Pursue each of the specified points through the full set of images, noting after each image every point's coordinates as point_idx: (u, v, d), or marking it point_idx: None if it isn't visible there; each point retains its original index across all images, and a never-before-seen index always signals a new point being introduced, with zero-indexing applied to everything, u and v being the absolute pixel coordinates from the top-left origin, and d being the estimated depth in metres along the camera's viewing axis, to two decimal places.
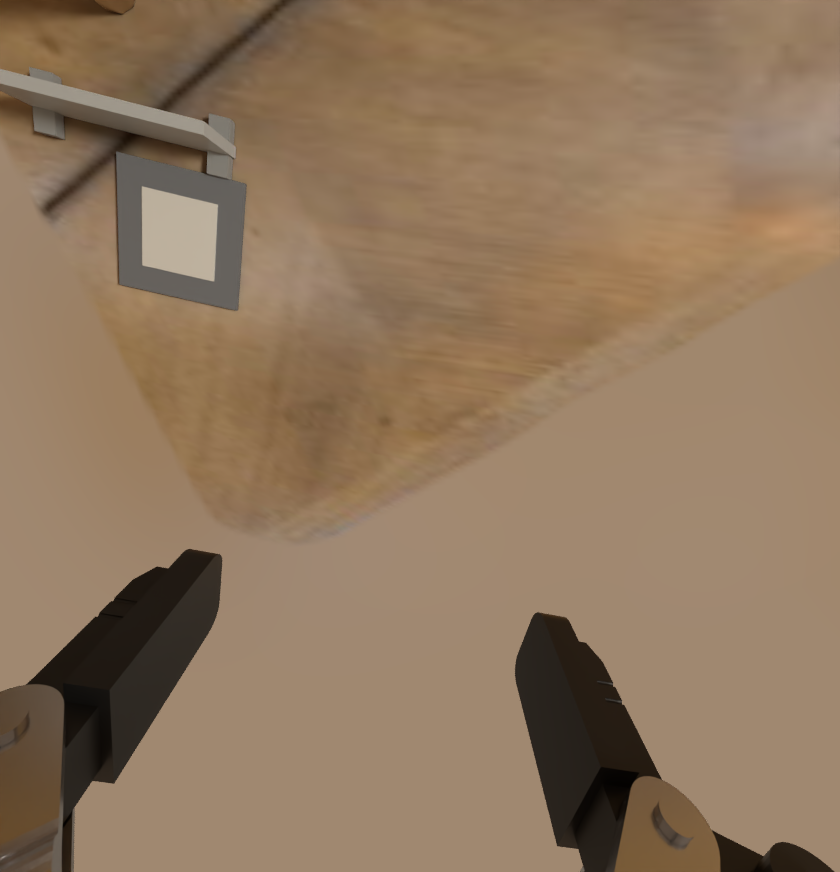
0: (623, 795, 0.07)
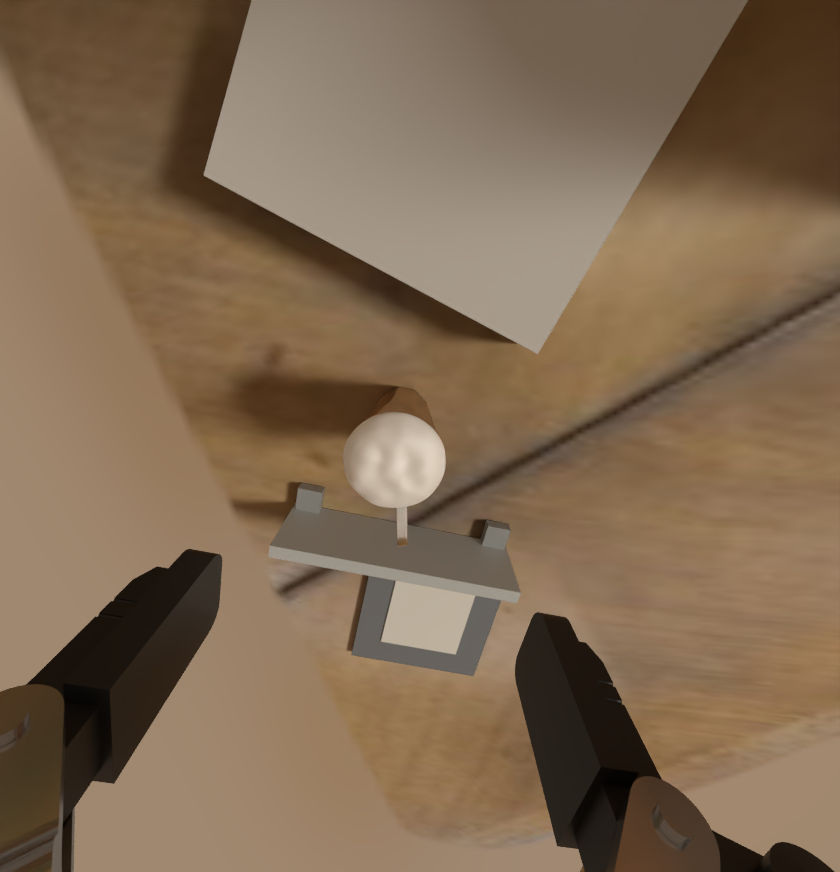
0: (623, 795, 0.07)
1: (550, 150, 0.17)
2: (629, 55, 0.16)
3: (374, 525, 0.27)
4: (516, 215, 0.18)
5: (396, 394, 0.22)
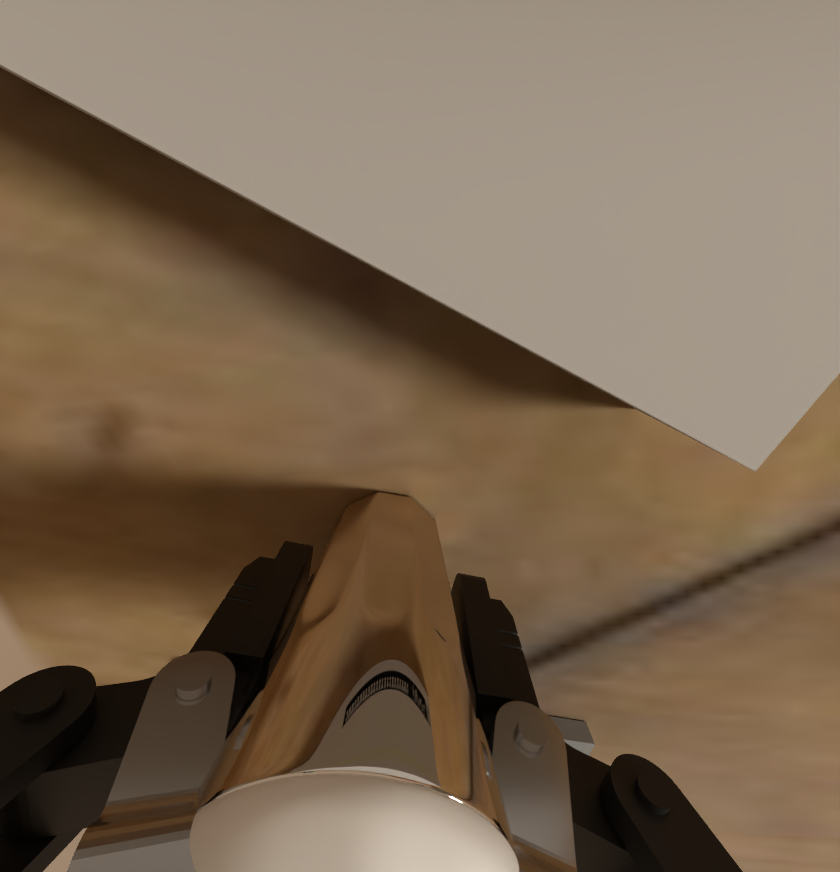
0: None
1: None
2: None
3: None
4: (769, 36, 0.05)
5: (367, 541, 0.09)
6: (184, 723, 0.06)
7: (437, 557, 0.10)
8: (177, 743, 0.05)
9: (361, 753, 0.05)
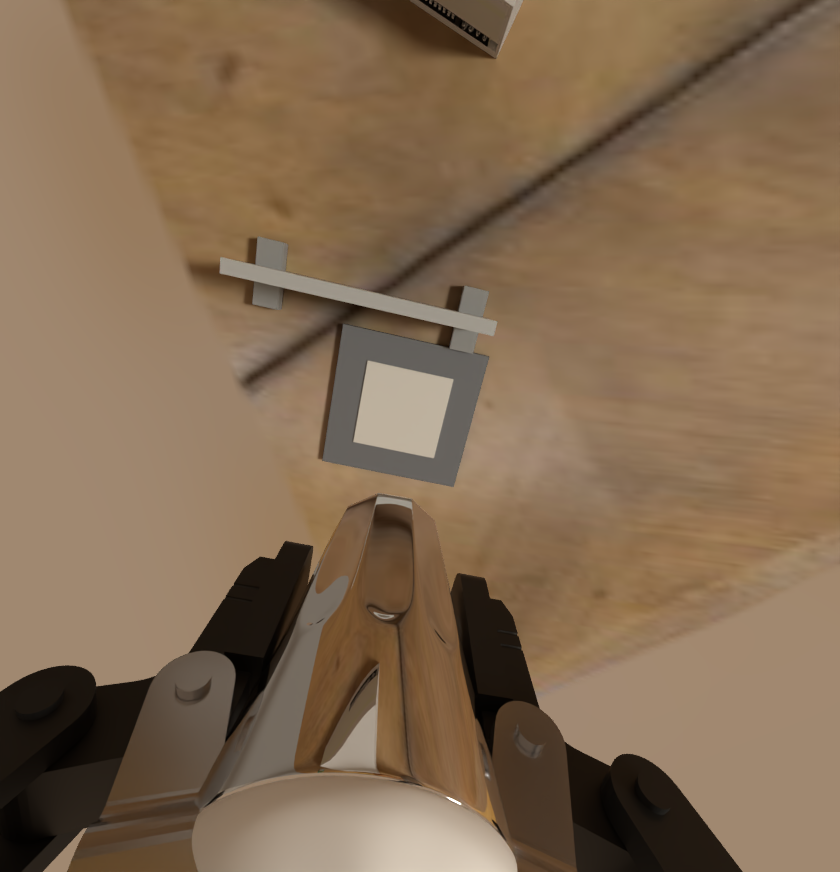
0: None
1: None
2: None
3: None
4: None
5: (367, 542, 0.09)
6: (184, 723, 0.06)
7: (437, 558, 0.10)
8: (177, 743, 0.05)
9: (361, 755, 0.05)
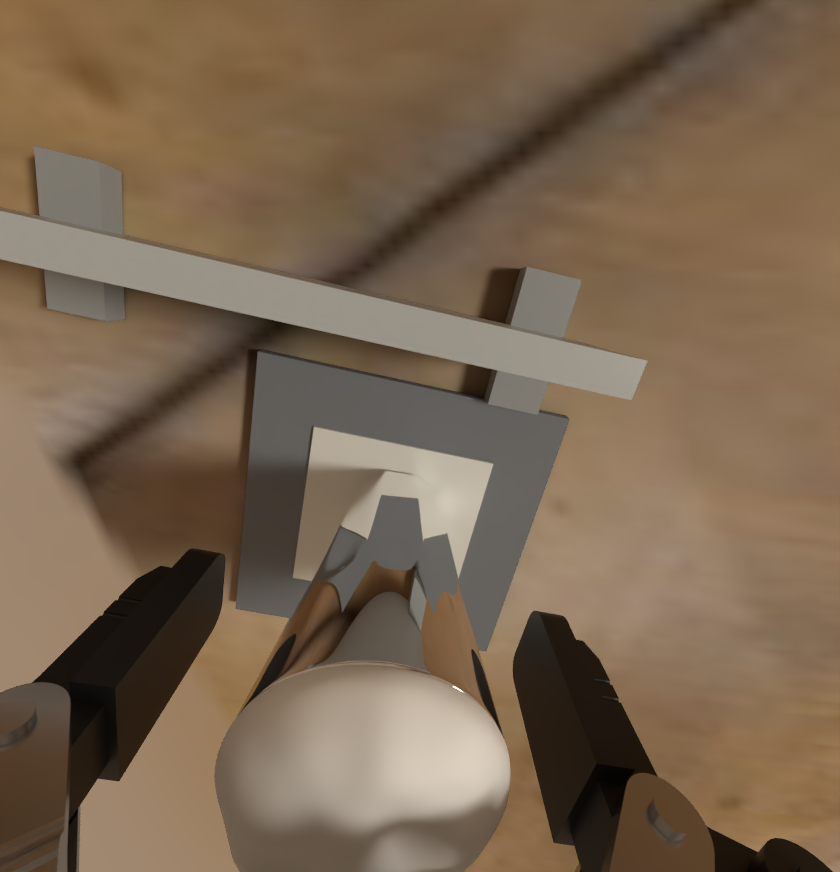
0: (619, 792, 0.07)
1: None
2: None
3: (244, 263, 0.11)
4: None
5: (378, 509, 0.10)
6: (4, 770, 0.05)
7: (440, 524, 0.11)
8: None
9: (379, 652, 0.06)
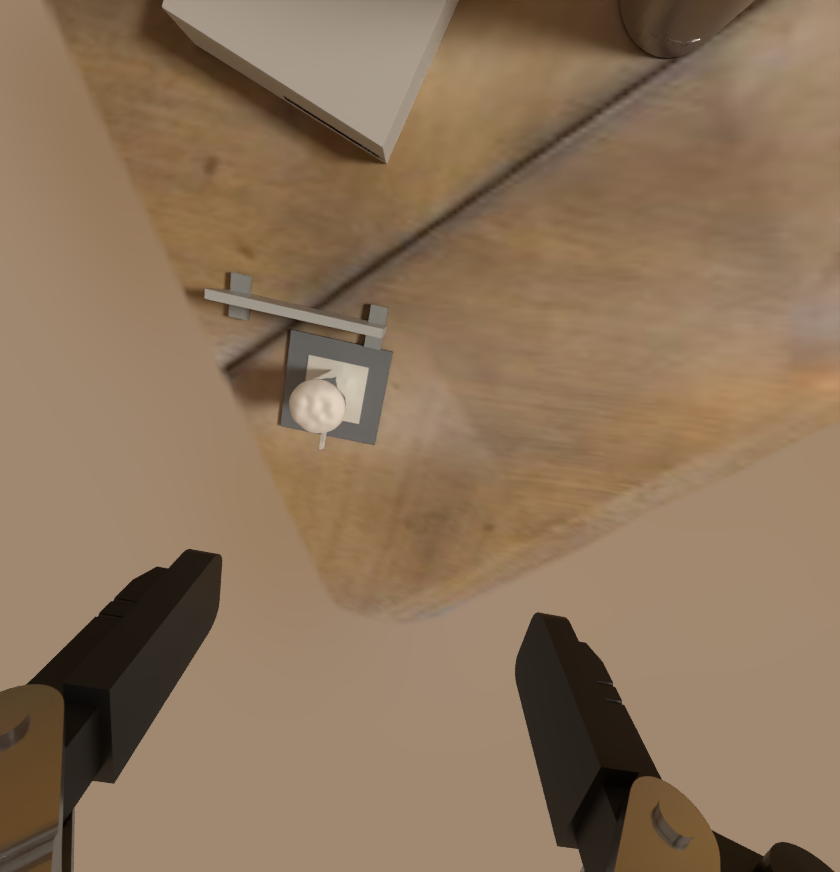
0: (623, 795, 0.07)
1: (378, 0, 0.28)
2: None
3: (288, 303, 0.37)
4: (360, 44, 0.28)
5: (326, 373, 0.37)
6: None
7: (346, 380, 0.38)
8: None
9: (319, 378, 0.32)
